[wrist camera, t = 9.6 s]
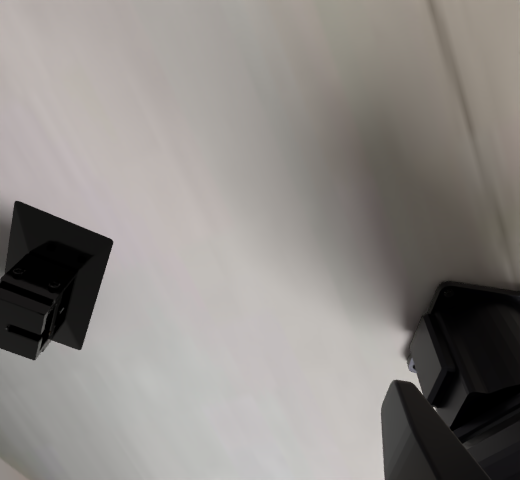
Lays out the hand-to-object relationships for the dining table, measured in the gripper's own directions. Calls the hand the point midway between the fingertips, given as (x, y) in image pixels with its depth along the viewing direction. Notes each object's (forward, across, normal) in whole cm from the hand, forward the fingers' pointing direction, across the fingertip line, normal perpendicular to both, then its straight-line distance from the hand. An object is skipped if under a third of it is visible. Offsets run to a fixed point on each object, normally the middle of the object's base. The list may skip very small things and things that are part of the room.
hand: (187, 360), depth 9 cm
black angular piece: (+14, +11, +10) cm, 20 cm away
